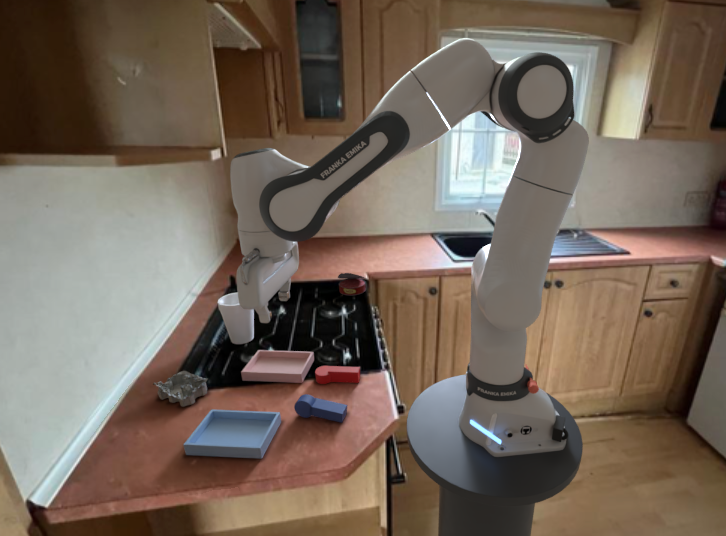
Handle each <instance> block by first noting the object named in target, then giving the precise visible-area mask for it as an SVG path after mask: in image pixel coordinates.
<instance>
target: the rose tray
mask: <svg viewBox="0 0 726 536" xmlns="http://www.w3.org/2000/svg"><path fill="white" fill-rule="evenodd" d="M314 362H315V353H314V351H301V350H300V351H298V350H297V351H296V350H295V351H294V350H272V349H271V350H269V349H268V350H267V349H257V351H256V352H255V354H254V355H253V356H252V357H251V359H249V361H248V362H247V363H246V365H245V366H244V367H243V368H242V370H241V371H240V374H241V380H242V381H243V382H269V383H272V382H273V383H293V384H294V383H295V384H302V383H303V382H304V380H305V379H306V376H307V375H308V373H309V371H310V369H311V367H312V366H313V363H314Z"/></svg>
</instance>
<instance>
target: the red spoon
mask: <svg viewBox="0 0 726 536" xmlns="http://www.w3.org/2000/svg"><path fill="white" fill-rule="evenodd" d="M314 375H315V382H317V383H318V384H321V385H326V384H329V383H351V384H352V383H353V384H356V383H357V384H359V383H360V380H361V366H341V365H338V366H337V365H321V366H319V367H317V368H316V369H315V370H314Z"/></svg>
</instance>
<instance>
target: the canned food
mask: <svg viewBox="0 0 726 536" xmlns="http://www.w3.org/2000/svg"><path fill="white" fill-rule="evenodd" d="M337 279H342V280H340V281H339V282H338V289H339V291H338V292H339V293H340V294H342V295H344V296H357V295H361V294H363V293H364V292H366V290H367V288H366V281H365V280H364V279H365V277H364V276H362V275H359V274H355V273H350V272H343V273H342V272H341V273H340V274H338V275H337Z"/></svg>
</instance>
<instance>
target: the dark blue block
mask: <svg viewBox="0 0 726 536" xmlns="http://www.w3.org/2000/svg"><path fill="white" fill-rule="evenodd" d="M293 408H294V409H293V410H294V411H295V413H296V414H297V415H298V416H300V417H301V418H305V419H306V418H310V417H316V418H321V419H323V420H324V419H325V420H328V421H332V422H337V423H343V422H344V420H345V418H346V416H347V414H348V404H345V403H341V402H335V401H332V400H327V399H323V398H318V397H314V396H313V395H311V394H307V393H305V394H301V395H300V397H298V399H297V401H296V402H295V403H294V407H293Z"/></svg>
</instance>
